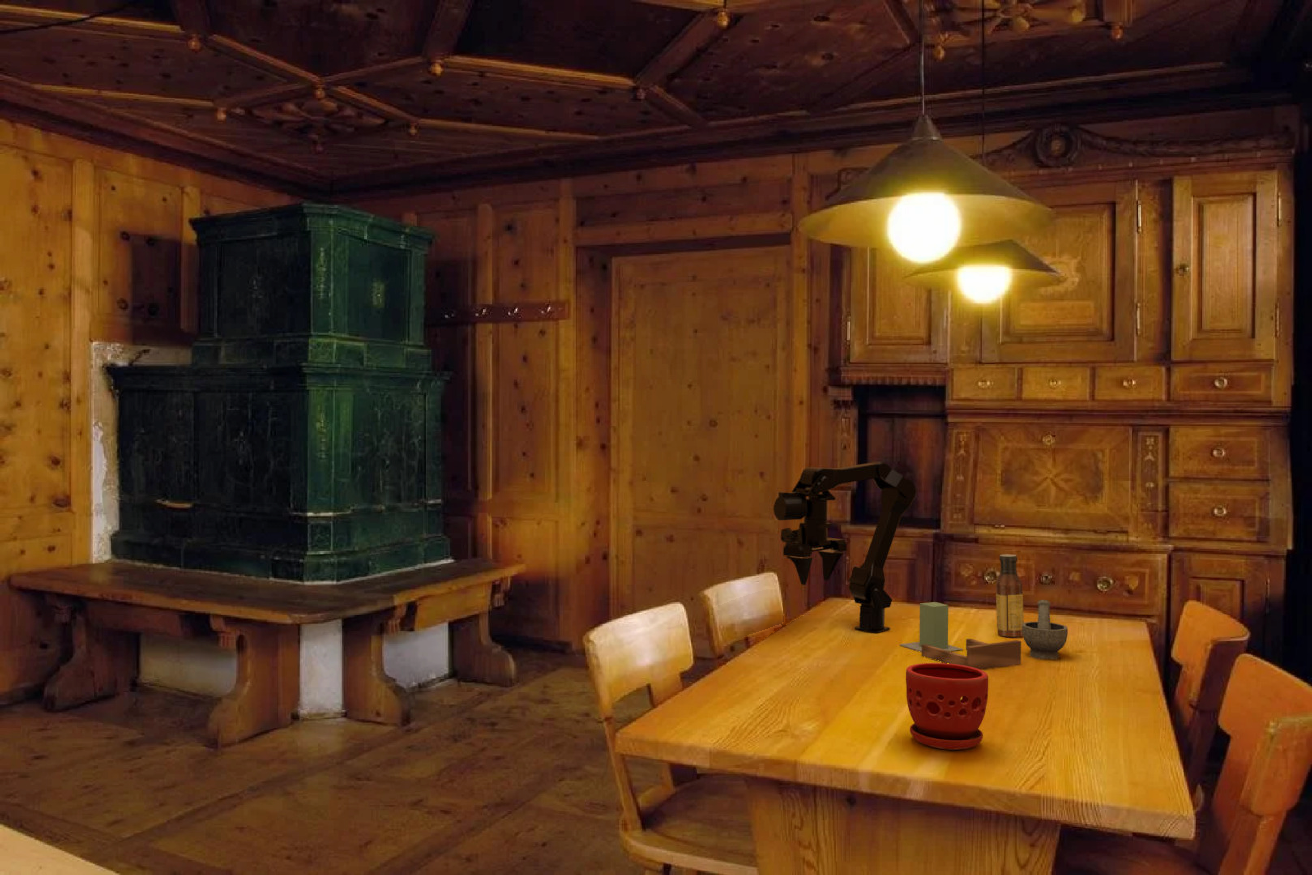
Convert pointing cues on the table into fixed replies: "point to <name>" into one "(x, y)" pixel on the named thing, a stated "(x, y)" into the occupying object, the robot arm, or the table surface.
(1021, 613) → the sauce bottle
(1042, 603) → the mortar and pestle
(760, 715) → the table surface
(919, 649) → the felt mat
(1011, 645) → the frame
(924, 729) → the plant pot
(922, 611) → the green block
